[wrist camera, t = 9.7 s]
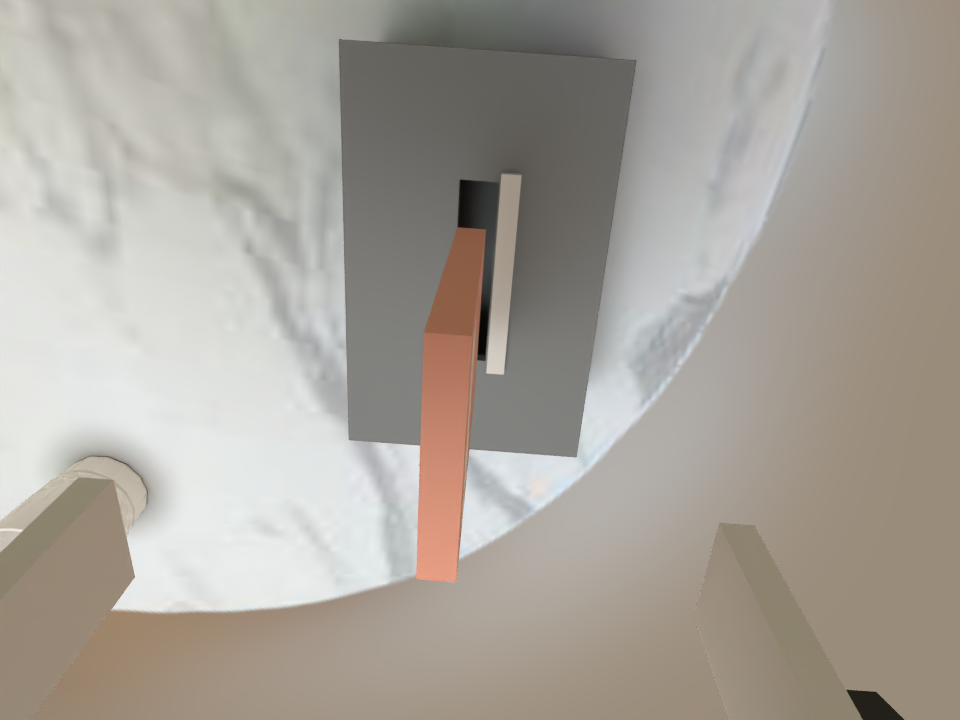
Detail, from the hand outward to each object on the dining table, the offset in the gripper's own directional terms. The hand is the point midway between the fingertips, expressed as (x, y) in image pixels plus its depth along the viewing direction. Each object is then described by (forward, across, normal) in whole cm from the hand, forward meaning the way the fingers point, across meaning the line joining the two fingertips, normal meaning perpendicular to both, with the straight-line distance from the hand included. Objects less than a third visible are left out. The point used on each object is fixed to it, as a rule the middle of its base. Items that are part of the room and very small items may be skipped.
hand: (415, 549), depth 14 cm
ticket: (+16, 0, 0) cm, 16 cm away
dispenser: (+32, 0, 0) cm, 32 cm away
